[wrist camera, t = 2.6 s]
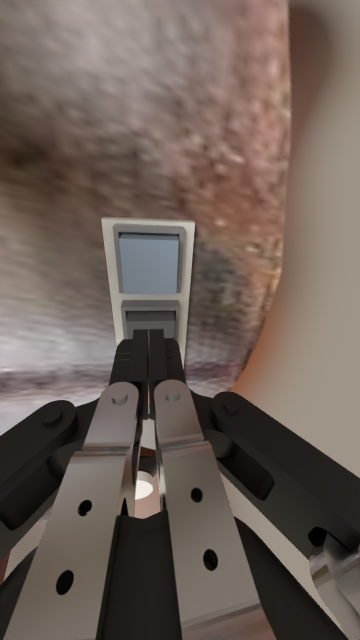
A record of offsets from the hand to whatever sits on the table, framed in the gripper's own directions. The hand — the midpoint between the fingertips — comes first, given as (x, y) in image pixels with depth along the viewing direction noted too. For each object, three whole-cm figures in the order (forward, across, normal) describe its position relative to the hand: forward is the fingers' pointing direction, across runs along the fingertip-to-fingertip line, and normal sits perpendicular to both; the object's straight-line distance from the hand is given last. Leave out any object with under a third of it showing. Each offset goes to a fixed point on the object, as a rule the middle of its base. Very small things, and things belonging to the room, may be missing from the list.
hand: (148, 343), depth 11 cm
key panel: (+18, 0, +9) cm, 21 cm away
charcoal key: (+15, 0, +9) cm, 17 cm away
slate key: (+15, 0, 0) cm, 15 cm away
